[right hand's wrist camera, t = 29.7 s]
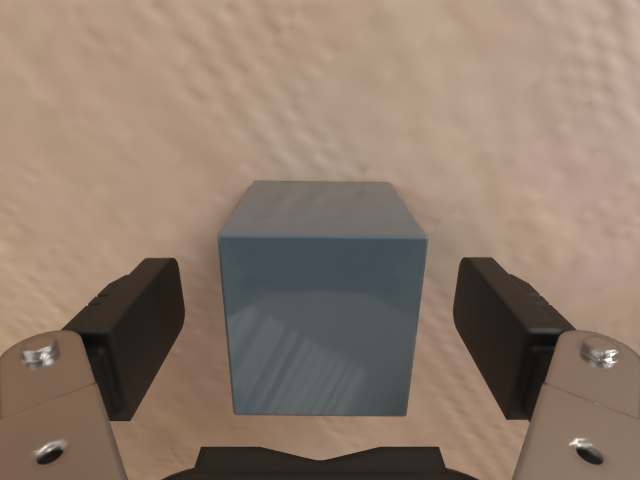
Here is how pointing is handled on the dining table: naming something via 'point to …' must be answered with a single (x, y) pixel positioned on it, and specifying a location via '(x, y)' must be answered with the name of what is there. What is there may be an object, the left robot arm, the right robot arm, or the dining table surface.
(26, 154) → the dining table surface
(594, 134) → the dining table surface
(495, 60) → the dining table surface
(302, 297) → the block
